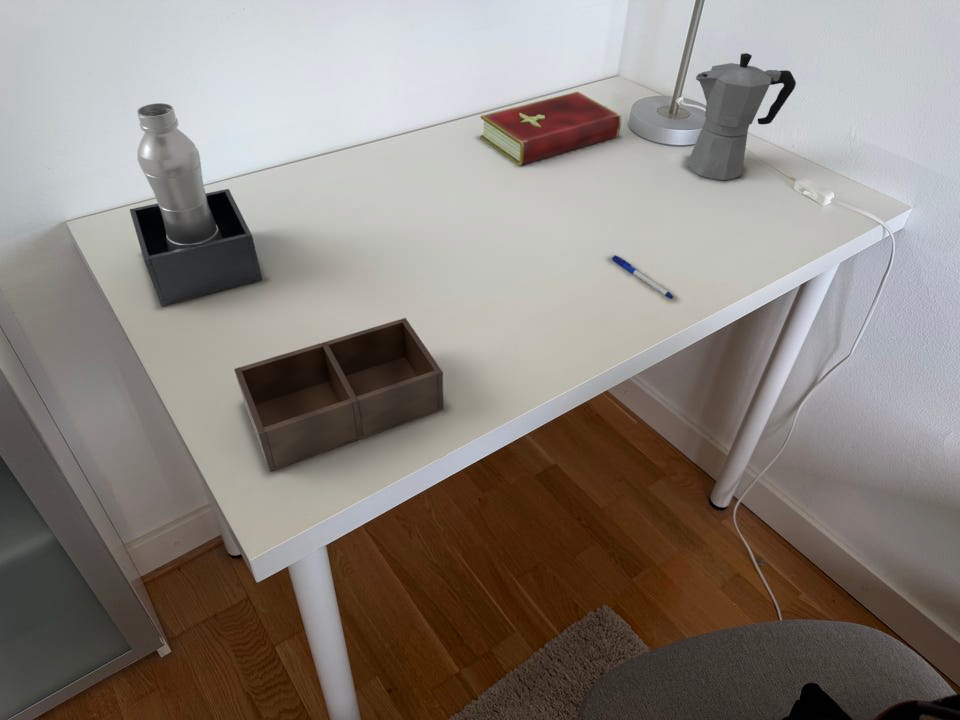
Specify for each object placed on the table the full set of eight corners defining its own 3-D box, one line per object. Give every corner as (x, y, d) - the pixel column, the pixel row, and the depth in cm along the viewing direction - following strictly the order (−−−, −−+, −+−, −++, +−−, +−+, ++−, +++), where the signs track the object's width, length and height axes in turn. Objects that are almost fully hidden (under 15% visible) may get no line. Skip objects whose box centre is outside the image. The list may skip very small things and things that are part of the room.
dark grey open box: (161, 306, 82) (143, 259, 78) (145, 254, 90) (129, 209, 86) (262, 280, 87) (251, 234, 82) (239, 233, 95) (228, 188, 90)
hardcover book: (618, 137, 120) (622, 114, 117) (520, 166, 111) (522, 142, 108) (575, 112, 127) (578, 89, 124) (480, 138, 118) (480, 114, 115)
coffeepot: (682, 181, 109) (712, 65, 96) (667, 154, 115) (693, 42, 103) (777, 181, 109) (818, 66, 97) (757, 154, 116) (793, 43, 104)
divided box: (269, 471, 65) (258, 434, 61) (245, 406, 71) (233, 368, 67) (443, 409, 71) (443, 372, 68) (407, 354, 77) (405, 317, 74)
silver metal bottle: (220, 278, 85) (176, 123, 72) (166, 276, 85) (111, 121, 72) (235, 249, 90) (196, 98, 77) (183, 247, 90) (135, 96, 77)
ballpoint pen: (609, 261, 92) (610, 254, 92) (614, 259, 93) (615, 252, 92) (669, 300, 86) (671, 293, 86) (674, 297, 87) (676, 291, 86)
